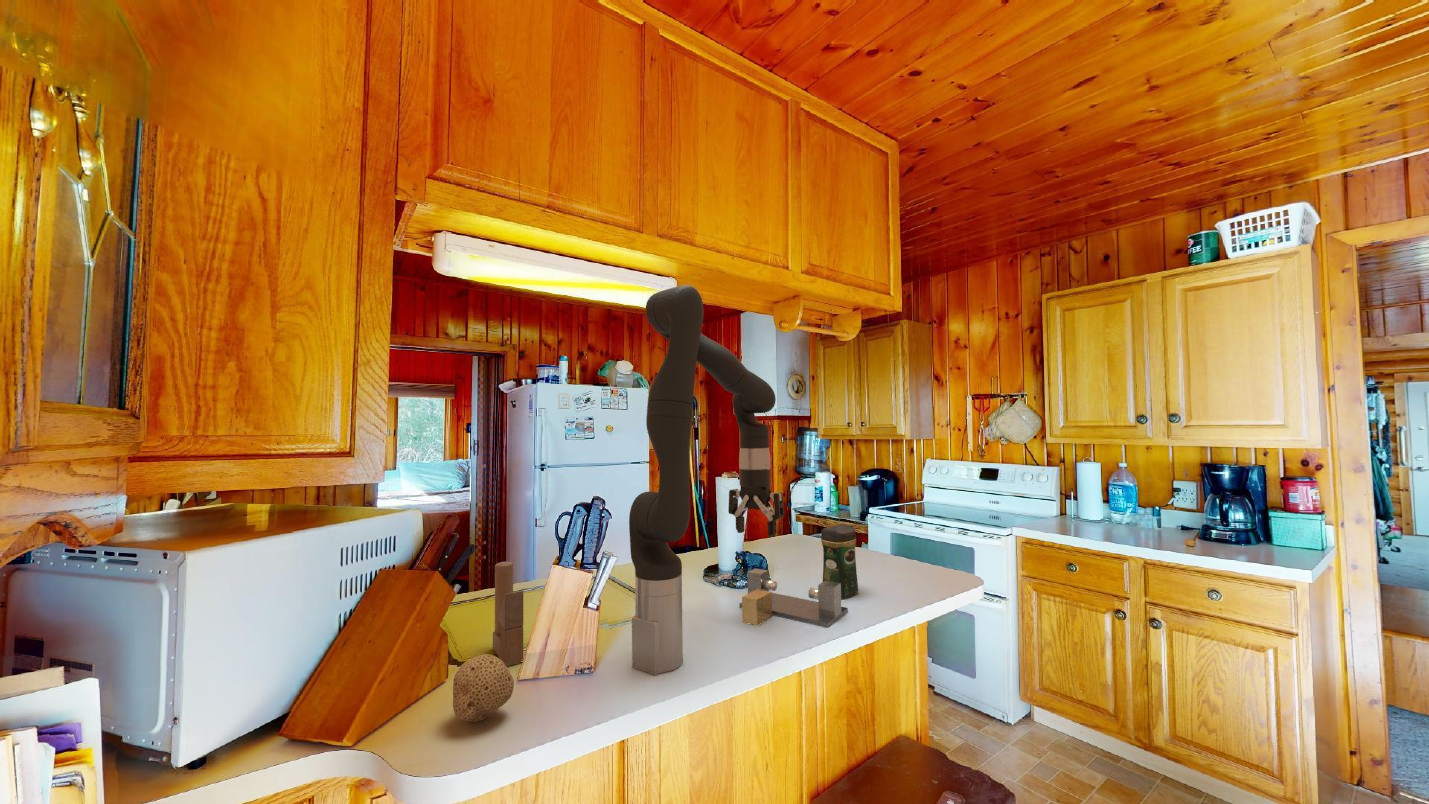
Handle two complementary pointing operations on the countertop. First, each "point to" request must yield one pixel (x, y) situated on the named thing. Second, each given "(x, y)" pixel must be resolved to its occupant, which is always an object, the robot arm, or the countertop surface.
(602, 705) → the countertop surface
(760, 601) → the block
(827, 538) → the coffee jar
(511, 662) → the wooden block
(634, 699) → the countertop surface
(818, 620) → the stand
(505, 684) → the natural sponge
